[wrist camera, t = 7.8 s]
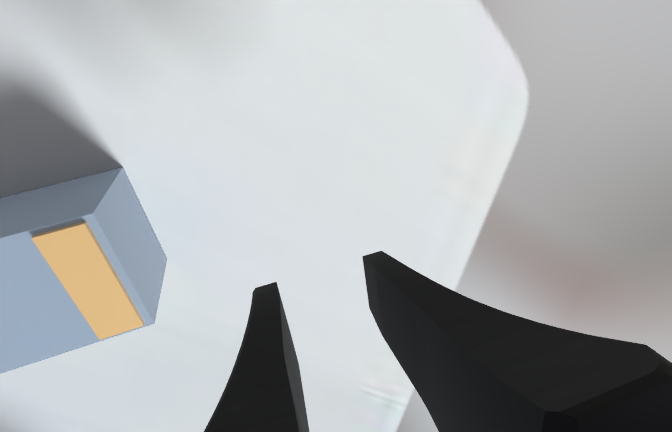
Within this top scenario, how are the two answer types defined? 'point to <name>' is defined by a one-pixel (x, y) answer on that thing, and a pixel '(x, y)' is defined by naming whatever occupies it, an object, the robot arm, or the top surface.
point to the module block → (75, 267)
